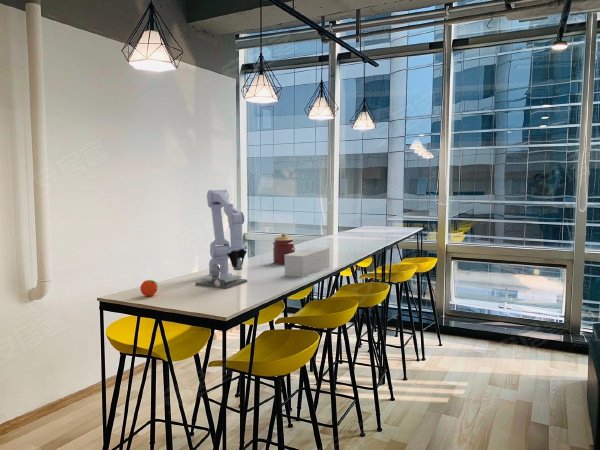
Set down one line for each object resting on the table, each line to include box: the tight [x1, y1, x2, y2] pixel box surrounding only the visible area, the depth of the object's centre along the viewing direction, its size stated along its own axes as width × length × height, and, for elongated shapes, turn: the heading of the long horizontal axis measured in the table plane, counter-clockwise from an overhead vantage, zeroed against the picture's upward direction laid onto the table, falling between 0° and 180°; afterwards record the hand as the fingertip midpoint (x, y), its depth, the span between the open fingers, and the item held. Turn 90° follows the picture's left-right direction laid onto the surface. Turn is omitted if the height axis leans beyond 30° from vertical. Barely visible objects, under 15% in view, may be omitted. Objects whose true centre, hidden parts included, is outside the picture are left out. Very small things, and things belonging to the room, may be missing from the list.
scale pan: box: [201, 274, 242, 283], centre depth 225 cm, size 14×12×2 cm
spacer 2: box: [232, 257, 243, 271], centre depth 226 cm, size 4×4×6 cm
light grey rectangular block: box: [284, 246, 330, 278], centre depth 254 cm, size 32×11×11 cm, turn 152°
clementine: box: [139, 279, 159, 297], centre depth 202 cm, size 8×7×7 cm
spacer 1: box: [212, 264, 220, 277], centre depth 226 cm, size 4×4×6 cm
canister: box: [272, 232, 296, 265], centre depth 280 cm, size 13×13×18 cm
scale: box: [195, 278, 248, 290], centre depth 225 cm, size 18×16×4 cm
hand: (237, 266), depth 226 cm, fingers closed on spacer 2, 4 cm apart
